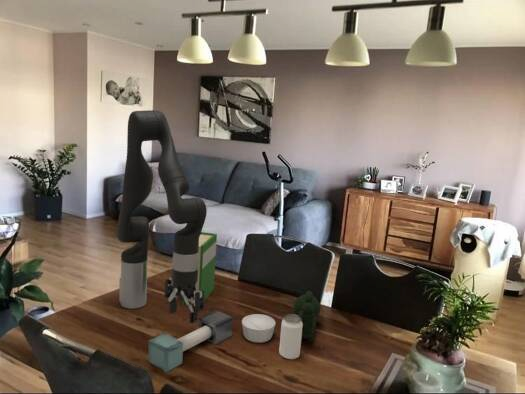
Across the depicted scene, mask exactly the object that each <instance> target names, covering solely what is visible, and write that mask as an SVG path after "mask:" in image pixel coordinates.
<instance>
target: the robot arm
mask: <svg viewBox="0 0 525 394" xmlns="http://www.w3.org/2000/svg"><path fill="white" fill-rule="evenodd" d="M127 120H128V122H127V134H126V135H127V136H126V137H127V138H126V139H127V140H126V142H127V144H126V145H127V147H126V159H125V169H124V173H123V174H124V175H123V182H122V197H121V205H120V211H119V215H118V221H117V226H116V234H117V235H116V236H117V239H118V241H119V242H121V243H122V244H123V243H126V244H127V243H128V244H129V243H135V244H134V245H133V246H131V247H128V248H126V249H125V250H122V252H121V253H120V254H121V255H120V278H119V283H118V284H119V292H118V293H119V294H118V295H119V299H118V302H119V303H120V306H121V307H123V308H124V309H139V308H142V307H144V306H145V305H147V289H148V288H147V287H148V284H147V283H148V254H149V253H148V252H149V238H150V221H149V219H148V218H147V217H146V216H140V215H139V216H133V214H134V213H135V211H136V210H137V209H138V208H139V207H140V206H142V204H143V203H144V202H145V201H146V200H147V199H148V198H149V196H150V195H151V192H152V187H153V182H154V181H153V180H154V173H153V170H152V168H151V167H150V165H149V163H148V161H147V160H146V158H145V157H144V155H143V151H142V145H143V142H151V141H158V142H159V144H160V147H161V152H160V153H161V154H160V157H159V161H158V164H157V165H158V166H157V173H158V177H159V179H160V182H161V184H162V186H163V189H164V191H165V194H166V201H167V210H168V211H167V212H168V216H169V218H170V220H171V221H172V222H173V223H175V225H176V224H177V225H185V224H186V225H185V226H184V227H183V228H181V229H179V230H177V231H176V232H175V233H174V237H173V254H172V258H171V259H172V260H171V263H172V264H171V265H172V266H171V277H169V278H167V279H165V282H164V298H165V299H167V300H168V303H169V305H168V311H169V314H175V313H177V311H178V300H177V299H180V300H181V301H182V300H184V301H185V302H186V303H185V304H186V306H188V309H189V310H190V311H189V320H188V322H189V324H190V325H192V324H195V323H196V322H197V321H198V315H199V314H198V313H199V312H201V311H204V309H205V302H204V291H203V290H201V291H198V290H196V286H195V285H196V283H197V281H198V265H199V255H198V249H199V237H200V234H201V232H203V231H202V230H203V228H204V225H205V221H206V219H207V214H208V213H207V211H208V210H207V209H208V208H207V204H206V203H205V201H204V200H203V199H202V198H200V197H197V196H196V197H188V198H186V197H185V198H183V196H185V195H187V193H188V192H190V187H191V186H190V183H189V180H188V179H187V176H186V173H185V172H184V170H183V167H182V166H181V162H180V160H179V157H178V154H177V150H176V146H175V143H174V138H173V136H172V133H171V129H170V125H169V123H168V120H167V117H166V115H165V114H164V113H163V112H162V111H161V110H155V109H154V110H149V109H148V110H133V111H132V112H131V113H130V114H129V116H128V119H127ZM191 298H193V300H192V301H189V300H190V299H191ZM199 304H200V306H199Z"/></svg>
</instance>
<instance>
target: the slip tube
mask: <svg viewBox="0 0 525 394" xmlns="http://www.w3.org/2000/svg"><path fill="white" fill-rule="evenodd" d="M212 336H213V327H212V326H209V325H205V326H203V327H201V328H199V327H198V328H197V329H195V330H193V331H192V332H189V333H187V334H185V335H183V336H181V337H179V338H176V339H177V340H179V341H181V342H183V352H185V351H187V350H189V349H191V348H192V347H195V346H197V345H199V344H200V343H202V342H204V341H207V340H206V339H208V338H210V337H212Z"/></svg>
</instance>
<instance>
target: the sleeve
mask: <svg viewBox="0 0 525 394" xmlns="http://www.w3.org/2000/svg"><path fill="white" fill-rule="evenodd" d="M233 323H234V317H233V316H231V315H228V314H226V313H224V312H222V311H219V310H217V309H215V310H213V311H210V312H208V313H207V314H204V315H202V316H200V317H199V318H198V329H199V328H201V327H203V326H205V325H209V326H212V327H213V336H212V337H210V338H208V339H206V340H205V341H206V342H209V343H211V344H212V345H215V346H216V345H218V344H220V343H221V342H223V341H225V340H227V339H228V338H230V337H232V336H233Z"/></svg>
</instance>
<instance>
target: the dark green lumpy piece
mask: <svg viewBox="0 0 525 394" xmlns="http://www.w3.org/2000/svg"><path fill="white" fill-rule="evenodd" d="M293 312H294V315H298V316H300V317H301V318H302V324H303V326H302V337H301V340H302V339H307V341H308V342H314V340H315V336H316V333H315V331H316V329H317V325H316V323H317V318H318V317H319V315H320V314H321V313H320V312H321V304H320V301H319V300H318V299H317V297H315V296H314V294H313V291H311V290H308V291H306V292H305V294H301V295H299V297H297V298H296V299H295V301H294V302H293Z"/></svg>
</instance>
